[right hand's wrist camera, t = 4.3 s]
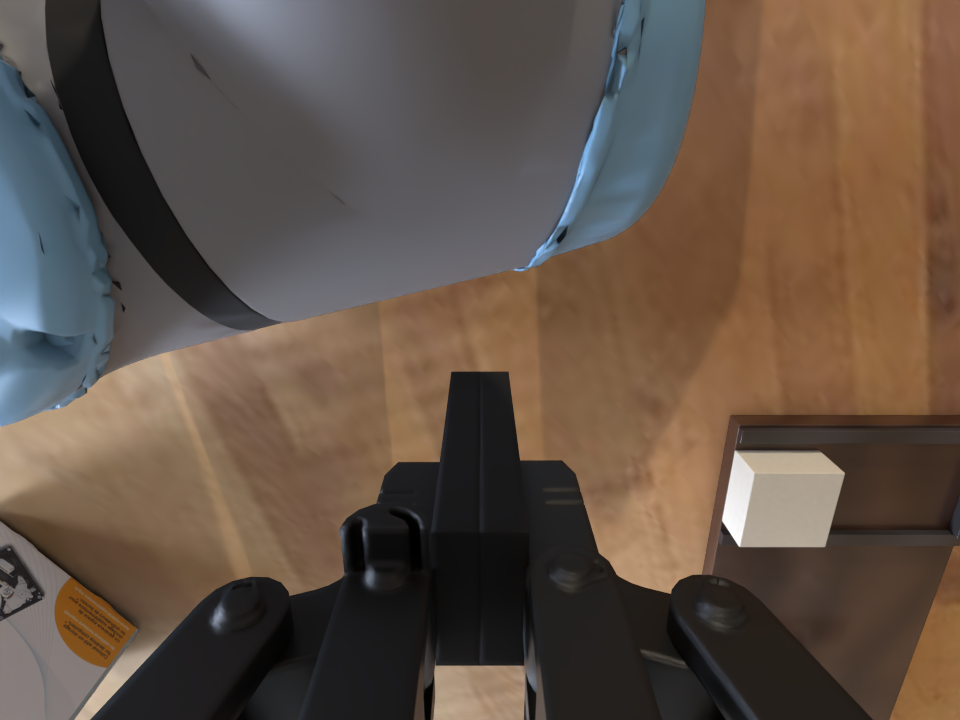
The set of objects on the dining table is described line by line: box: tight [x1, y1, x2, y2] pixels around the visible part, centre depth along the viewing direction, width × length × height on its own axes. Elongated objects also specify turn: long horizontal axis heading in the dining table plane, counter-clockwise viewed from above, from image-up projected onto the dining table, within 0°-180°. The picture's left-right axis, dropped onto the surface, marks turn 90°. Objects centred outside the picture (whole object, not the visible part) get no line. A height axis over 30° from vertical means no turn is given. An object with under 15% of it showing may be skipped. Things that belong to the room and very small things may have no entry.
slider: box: [722, 450, 845, 547], centre depth 39 cm, size 6×6×3 cm
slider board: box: [702, 415, 960, 720], centre depth 41 cm, size 18×32×10 cm, turn 0°
